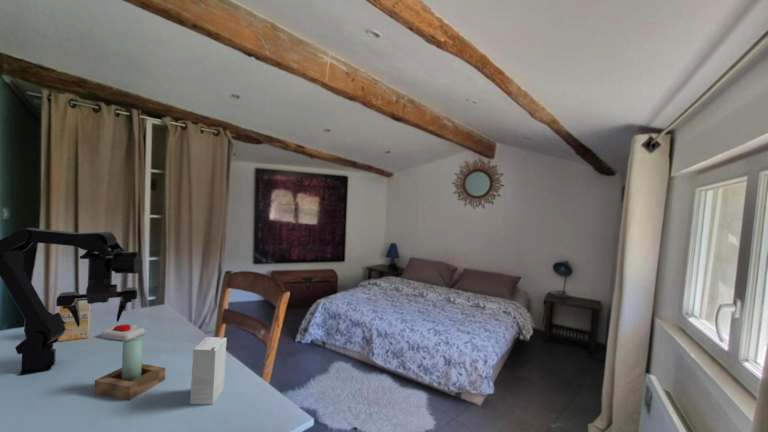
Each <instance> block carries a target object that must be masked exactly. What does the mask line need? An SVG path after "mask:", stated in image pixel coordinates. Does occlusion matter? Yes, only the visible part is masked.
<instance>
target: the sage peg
mask: <svg viewBox="0 0 768 432" xmlns="http://www.w3.org/2000/svg"><path fill="white" fill-rule="evenodd" d="M143 341H144V340H143V339H142V338H134V339H130V340H126V341H122V355H121V357H122V359H121V368H122V380H125V381H133V380H135V379H136V378H138V377H140V376H141V367H142V364H143V363H142V361H143Z"/></svg>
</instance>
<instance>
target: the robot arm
mask: <svg viewBox="0 0 768 432" xmlns="http://www.w3.org/2000/svg"><path fill="white" fill-rule="evenodd" d="M33 243H36V244H47V245H48V244H50V245H59V246H68V247H69V246H70V247H75V248H78V249H80V250H83V251H85V253H83V254H82V255H80V256H79V260H88V263H87V264H88V265H87V286H86V291H85V292H86V293H83V294H78V292H77V291H65V292H61V293H60V294H58V296H57V297H56V303H55V306H56V307H60V306H63V308H64V309H65V308H67V309H68V310H69V311H70V312H71V314H72V315H73V317H74V320H75V322H76V324H77V327H79V326H80V315H79V305H78V301H87V303H88V304H91V305H93V304H97V303H98V304H99V303H102V304H105V303H107V302H109V299H117V298H119V304H118V308H117V313H116V323H119V321H120V318H121V316H122V314H123V311H124V309H125V307H126V306H127V305H128V304H129V303H132V301H133V300H137V299H138V288H137V287H136V286H132V287H121V290H120V291H118V284H117V283H116V284H113V272H114V273H115V274H131V275H133V274H140V273H141V270H142V267H143V260H142V256H141V255H140V251H139V250H137V251H136V250H135V251H125V250H124V248H123V247H122V246H121V245H120V243H119V242H118V241H117V237H116V236H115V234H114V233H113V232H110V231H92V232H91V231H90V232H74V231H64V230H53V229H52V230H51V229H44V228H43V229H42V228H37V227H25V228H20V229H18V230H15V232H13V233H11V234H9V235H6V236H4V237H3V238H1V239H0V278H1V280H2V282H3V284H4V285H5V287H6V289H7V291H8V293H9V294H10V296H11V298H12V300H13V301H14V303H15V305H16V306H17V308H18V310H19V311H20V313H21V315H22V316H23V319H24V326H23V327H24V329H23V332H24V336H25V339H24V340H23V341H21V342H20V343H19V344H17V345H16V346H15V347H14V348H15V351H16V353H17V354H18V355H21V370H20V372H19V376H21V375H28V374H33V373H40V372H45V371H46V372H47V371H50V370H51V369H52V367H53V366H55V363H56V355H57V354H56V353H57V349H56V348H54V344H56V343H57V342H58V339H59V337H60V336H62V334H63V333H64V331H65V326H64V324H66V323H65V322H64V321H63V320H62V318H61V315H60V312H55V313H52V312H50V311H49V310H47V308H46V306H45V305H44V303H43V302H42V300H41V298H40V295H39V294H38V293H37V291H36V289H35V287H34V285H33V283H32V282H31V280H30V278H29V277H28V275H27V273H26V271H25V270H24V262H25V256H24V253H23V252H24V251H27V250H28V249H29V248H30V247H31V246H32V245H33Z"/></svg>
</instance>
